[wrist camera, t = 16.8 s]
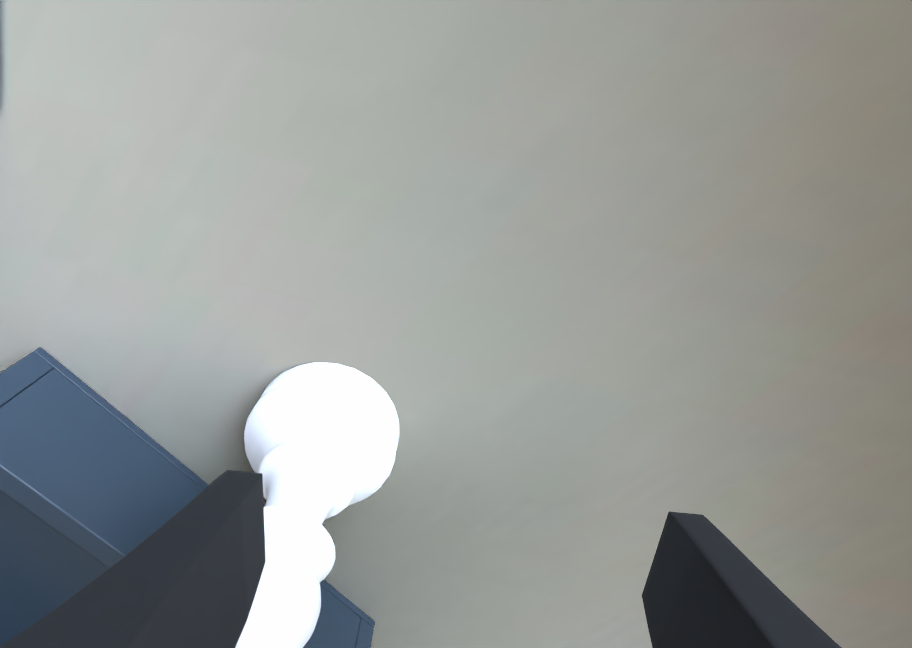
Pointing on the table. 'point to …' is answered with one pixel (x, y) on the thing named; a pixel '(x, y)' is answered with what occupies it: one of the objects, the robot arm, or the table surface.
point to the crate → (92, 499)
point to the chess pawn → (311, 485)
